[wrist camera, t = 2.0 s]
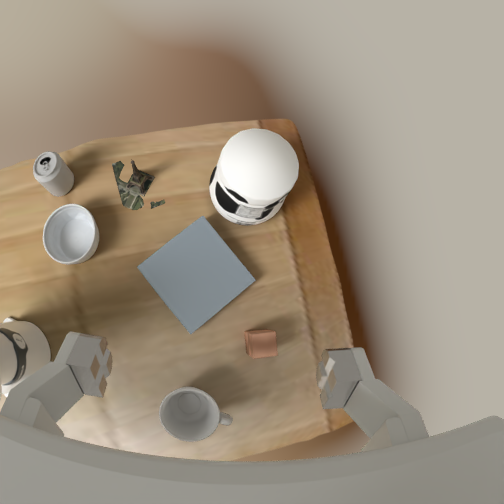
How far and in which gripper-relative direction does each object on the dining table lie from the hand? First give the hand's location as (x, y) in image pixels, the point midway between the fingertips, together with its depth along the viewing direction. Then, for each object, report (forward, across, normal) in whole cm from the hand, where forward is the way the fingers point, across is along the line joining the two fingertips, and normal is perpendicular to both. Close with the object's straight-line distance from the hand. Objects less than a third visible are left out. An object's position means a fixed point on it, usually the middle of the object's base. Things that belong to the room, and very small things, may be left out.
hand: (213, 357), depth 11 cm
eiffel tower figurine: (+63, -22, -16) cm, 69 cm away
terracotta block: (+42, +8, -44) cm, 61 cm away
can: (+60, -42, -15) cm, 75 cm away
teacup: (+31, -5, -54) cm, 63 cm away
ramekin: (+52, -34, -26) cm, 68 cm away
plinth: (+50, -6, -32) cm, 60 cm away
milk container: (+64, +4, -18) cm, 67 cm away
